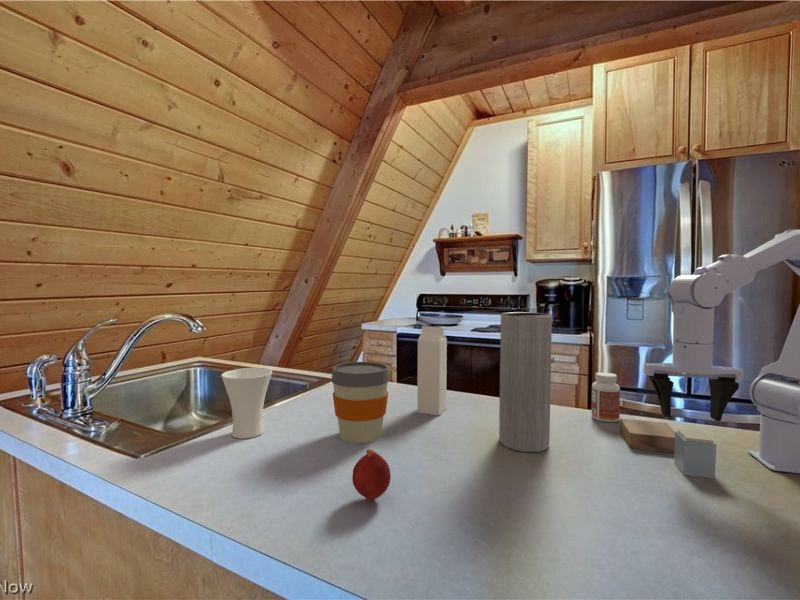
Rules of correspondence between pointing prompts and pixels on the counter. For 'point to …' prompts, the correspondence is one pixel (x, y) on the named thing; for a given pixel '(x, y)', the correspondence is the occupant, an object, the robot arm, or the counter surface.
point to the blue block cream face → (695, 454)
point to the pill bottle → (605, 397)
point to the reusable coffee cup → (360, 400)
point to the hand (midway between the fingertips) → (690, 417)
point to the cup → (247, 399)
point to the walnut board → (648, 435)
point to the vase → (525, 381)
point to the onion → (371, 475)
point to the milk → (432, 371)
